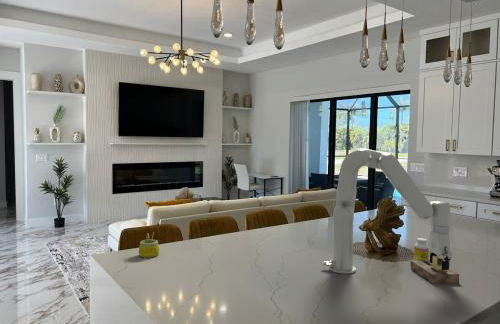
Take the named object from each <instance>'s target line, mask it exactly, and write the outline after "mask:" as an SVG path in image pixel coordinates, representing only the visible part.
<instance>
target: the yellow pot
mask: <svg viewBox="0 0 500 324" xmlns="http://www.w3.org/2000/svg"><path fill="white" fill-rule="evenodd" d="M154 234H155V231H152V237H151V239H150V234H149V233H148V232H147V233H146V239H143V240H141V241H140V242H139V247H138V256H139V257H141V258H146V259H148V258H155V257H157V256H158V255H159V253H160V246H159V241H158V240H157V239H153V238H154Z"/></svg>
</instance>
